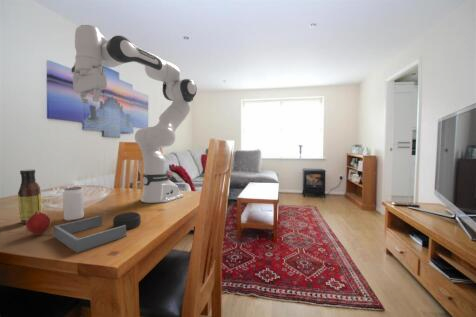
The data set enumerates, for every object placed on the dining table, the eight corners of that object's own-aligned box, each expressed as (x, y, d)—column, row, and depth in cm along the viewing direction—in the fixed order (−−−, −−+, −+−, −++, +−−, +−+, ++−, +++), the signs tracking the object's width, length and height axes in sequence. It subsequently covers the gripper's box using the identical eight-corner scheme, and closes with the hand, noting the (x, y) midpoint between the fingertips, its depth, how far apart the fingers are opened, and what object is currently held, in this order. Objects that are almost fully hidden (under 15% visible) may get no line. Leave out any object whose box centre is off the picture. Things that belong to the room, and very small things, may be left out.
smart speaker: (141, 221, 86) (141, 210, 85) (139, 229, 77) (139, 218, 77) (116, 223, 83) (116, 212, 83) (110, 232, 75) (110, 220, 74)
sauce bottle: (32, 218, 87) (30, 168, 86) (47, 219, 86) (45, 168, 85) (14, 224, 80) (11, 170, 79) (29, 225, 80) (27, 170, 79)
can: (73, 221, 84) (72, 190, 83) (59, 220, 85) (58, 189, 85) (88, 216, 90) (87, 187, 90) (74, 215, 92) (73, 186, 91)
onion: (30, 233, 73) (29, 209, 72) (52, 230, 75) (51, 207, 75) (24, 240, 67) (22, 214, 67) (48, 236, 70) (47, 211, 70)
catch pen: (100, 224, 81) (100, 215, 81) (126, 236, 71) (126, 225, 71) (54, 237, 70) (53, 226, 70) (76, 252, 60) (76, 240, 60)
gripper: (110, 65, 86) (111, 101, 87) (86, 74, 97) (87, 105, 98) (93, 60, 81) (94, 98, 82) (69, 70, 92) (70, 103, 93)
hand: (90, 102), depth 90 cm, fingers open, 8 cm apart
